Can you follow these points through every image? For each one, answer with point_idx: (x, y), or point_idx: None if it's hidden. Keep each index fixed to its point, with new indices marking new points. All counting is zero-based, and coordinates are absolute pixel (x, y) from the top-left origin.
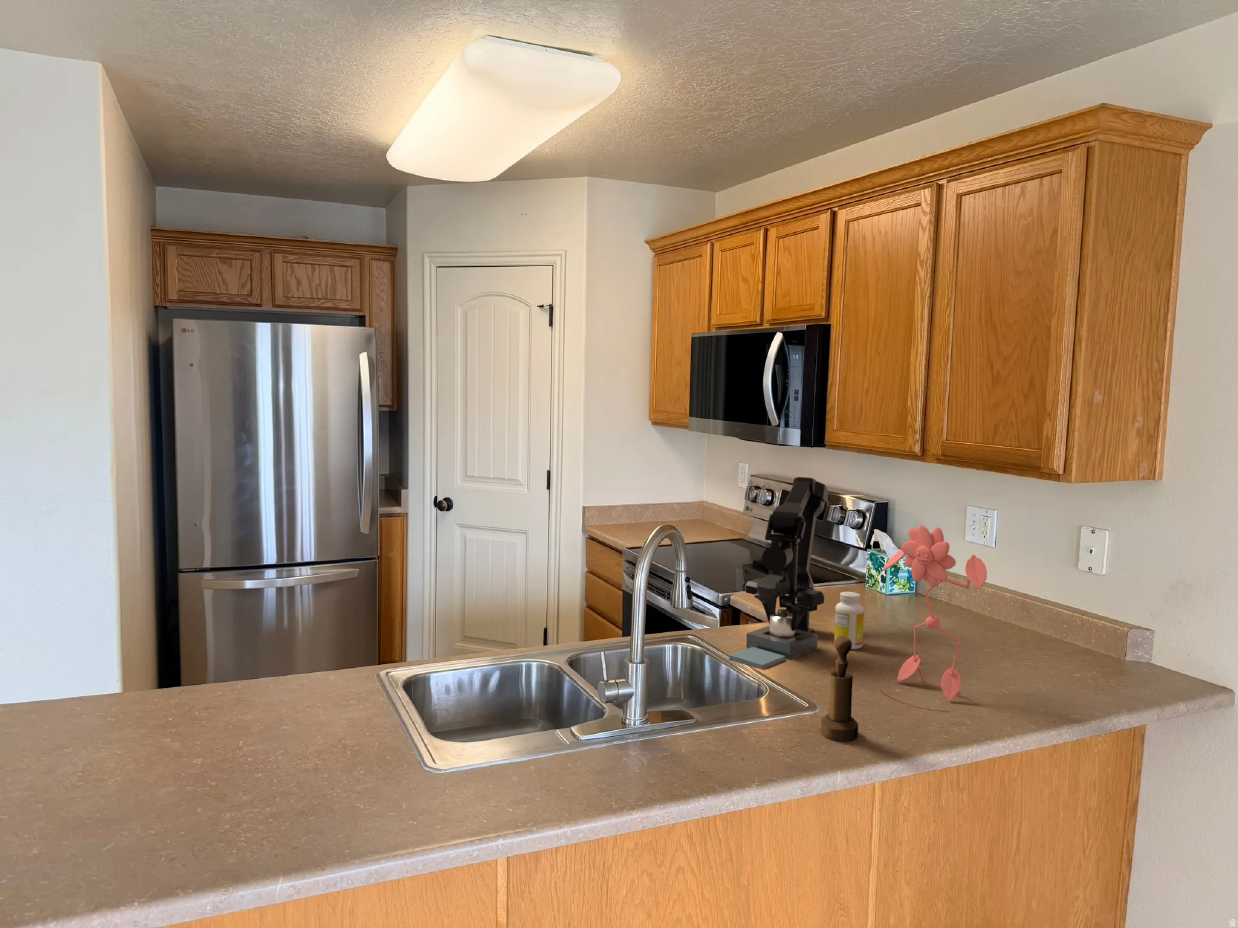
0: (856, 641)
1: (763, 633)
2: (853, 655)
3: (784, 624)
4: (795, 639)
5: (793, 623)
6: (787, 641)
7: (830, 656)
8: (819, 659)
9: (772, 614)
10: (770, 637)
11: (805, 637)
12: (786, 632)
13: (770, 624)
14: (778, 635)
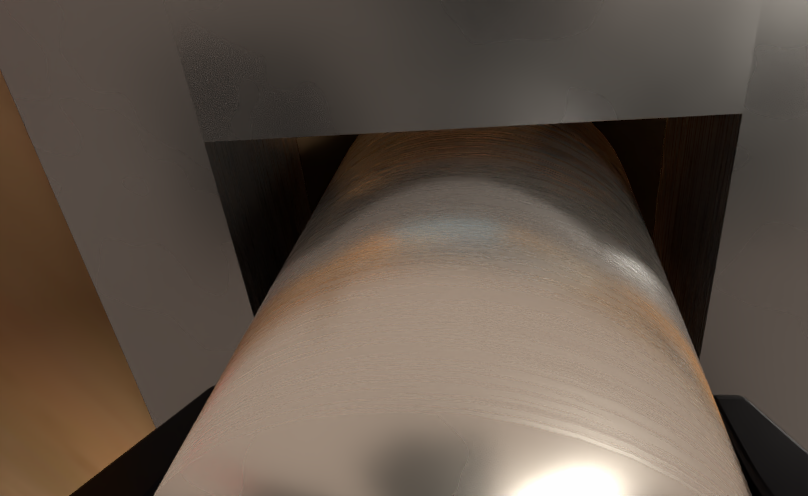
0: None
1: (730, 153)
2: (15, 463)
3: (239, 362)
4: (165, 261)
5: (129, 475)
6: (128, 84)
7: (50, 346)
8: (8, 216)
9: None
10: (467, 33)
11: (178, 405)
12: (273, 285)
13: (626, 301)
14: (388, 181)
